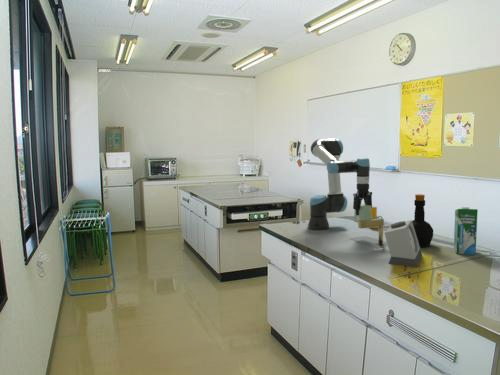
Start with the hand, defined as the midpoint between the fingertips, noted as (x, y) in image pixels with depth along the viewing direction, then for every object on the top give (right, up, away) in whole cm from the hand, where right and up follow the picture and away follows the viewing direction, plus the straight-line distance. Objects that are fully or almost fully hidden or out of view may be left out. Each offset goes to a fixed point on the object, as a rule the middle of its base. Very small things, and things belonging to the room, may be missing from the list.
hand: (362, 219), depth 237 cm
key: (+1, -14, -14) cm, 20 cm away
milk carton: (+47, -16, -30) cm, 58 cm away
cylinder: (+18, -9, +32) cm, 38 cm away
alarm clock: (+10, -18, -39) cm, 44 cm away
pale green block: (0, -2, 0) cm, 2 cm away
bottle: (+30, -14, -13) cm, 35 cm away
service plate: (+4, -14, -5) cm, 15 cm away
